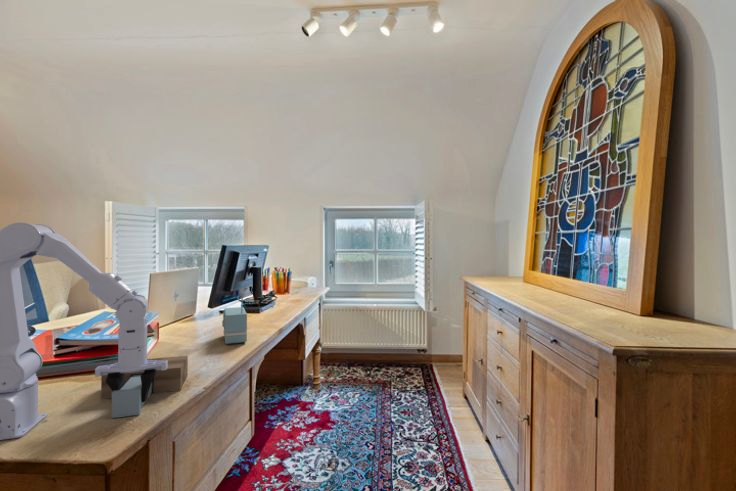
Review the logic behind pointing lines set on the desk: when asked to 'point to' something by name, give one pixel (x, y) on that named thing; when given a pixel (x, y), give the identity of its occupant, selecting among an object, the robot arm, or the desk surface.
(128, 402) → the grey-blue rectangular bar
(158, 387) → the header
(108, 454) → the desk surface
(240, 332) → the grey banded block
